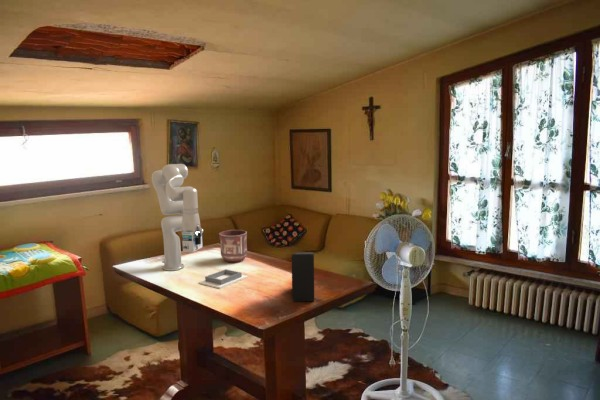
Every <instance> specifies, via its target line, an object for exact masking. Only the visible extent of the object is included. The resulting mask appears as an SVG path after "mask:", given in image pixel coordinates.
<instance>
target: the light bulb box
mask: <svg viewBox="0 0 600 400" xmlns="http://www.w3.org/2000/svg"><path fill="white" fill-rule="evenodd" d="M196 232H197V231H196ZM197 235H198V233H197ZM181 237H182V238H181V240H182V241H181V242H182V244H181V245H182V251H183V252H191V253H194V252H196V251H198V250H200V249H203V234H202V235H201V244H199V245H196V242H195V238H196V236H195V233H194V232H191V231H186V230H185V231H183V232H182V231H181Z"/></svg>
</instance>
